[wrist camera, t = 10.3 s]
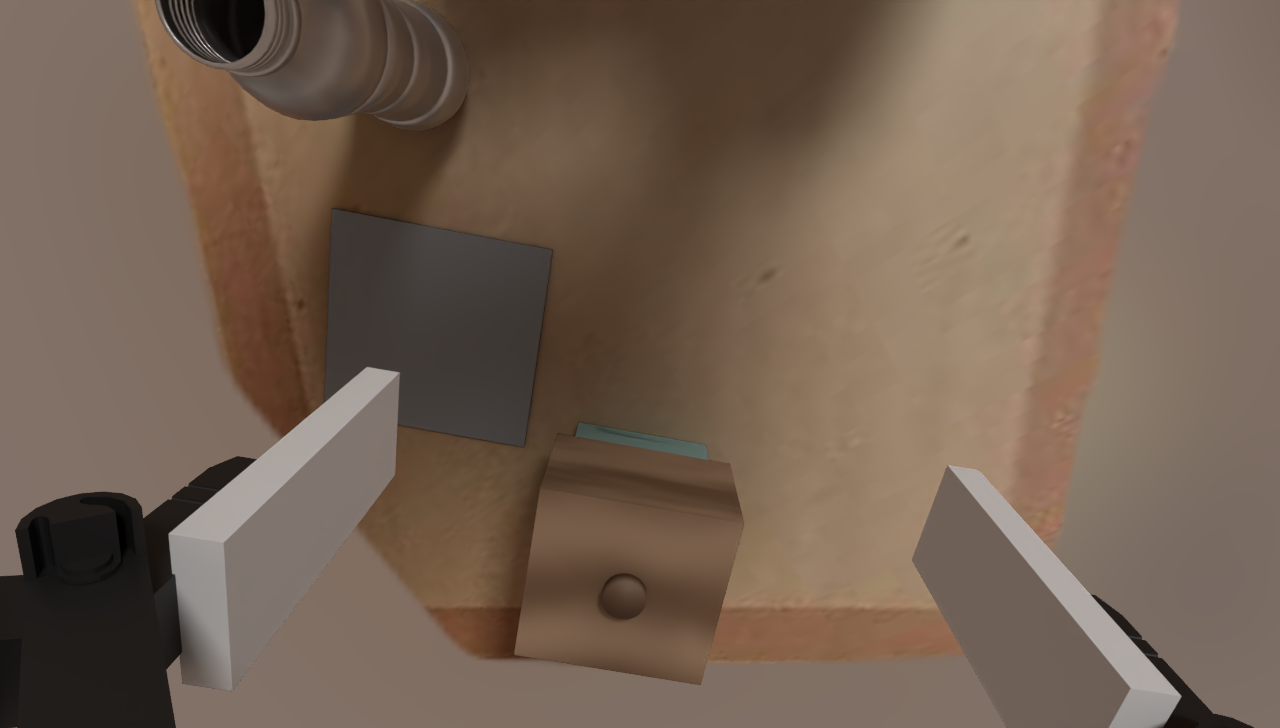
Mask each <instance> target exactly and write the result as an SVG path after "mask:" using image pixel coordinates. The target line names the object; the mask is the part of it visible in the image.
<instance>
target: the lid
mask: <svg viewBox="0 0 1280 728" xmlns="http://www.w3.org/2000/svg"><path fill="white" fill-rule="evenodd" d="M743 526H744V520H743V516H742V512H741V508H740V504H739V500H738V496H737V492H736V487H735V483H734V479H733V475H732V471H731V467H730V464H729V463H723V462H717V461H712V460H706V459H700V458H695V457H689V456H684V455H678V454H672V453H667V452H661V451H655V450H650V449H644V448H638V447H633V446H627V445H621V444H616V443H610V442H605V441H599V440H593V439H588V438H582V437H576V436H571V435H565V434H559V433H558V434H557V438H556V441H555V444H554V447H553V450H552V453H551V456H550V459H549V462H548V465H547V468H546V471H545V474H544V477H543V480H542V484H541V487H540V491H539V498H538V504H537V510H536V517H535V523H534V530H533V536H532V543H531V549H530V555H529V562H528V568H527V575H526V581H525V587H524V594H523V600H522V607H521V613H520V619H519V626H518V632H517V639H516V645H515V651H514V655H519V656H525V657H531V658H537V659H543V660H549V661H555V662H561V663H568V664H574V665H580V666H586V667H592V668H598V669H604V670H611V671H617V672H623V673H629V674H636V675H641V676H648V677H654V678H660V679H666V680H672V681H678V682H685V683H690V684H697V685H701V681H702V678H703V674H704V671H705V667H706V663H707V660H708V656H709V652H710V648H711V645H712V641H713V637H714V634H715V630H716V626H717V623H718V619H719V615H720V611H721V608H722V604H723V600H724V597H725V593H726V589H727V586H728V582H729V578H730V575H731V571H732V567H733V563H734V560H735V556H736V552H737V549H738V545H739V541H740V538H741V534H742V530H743Z"/></svg>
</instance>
